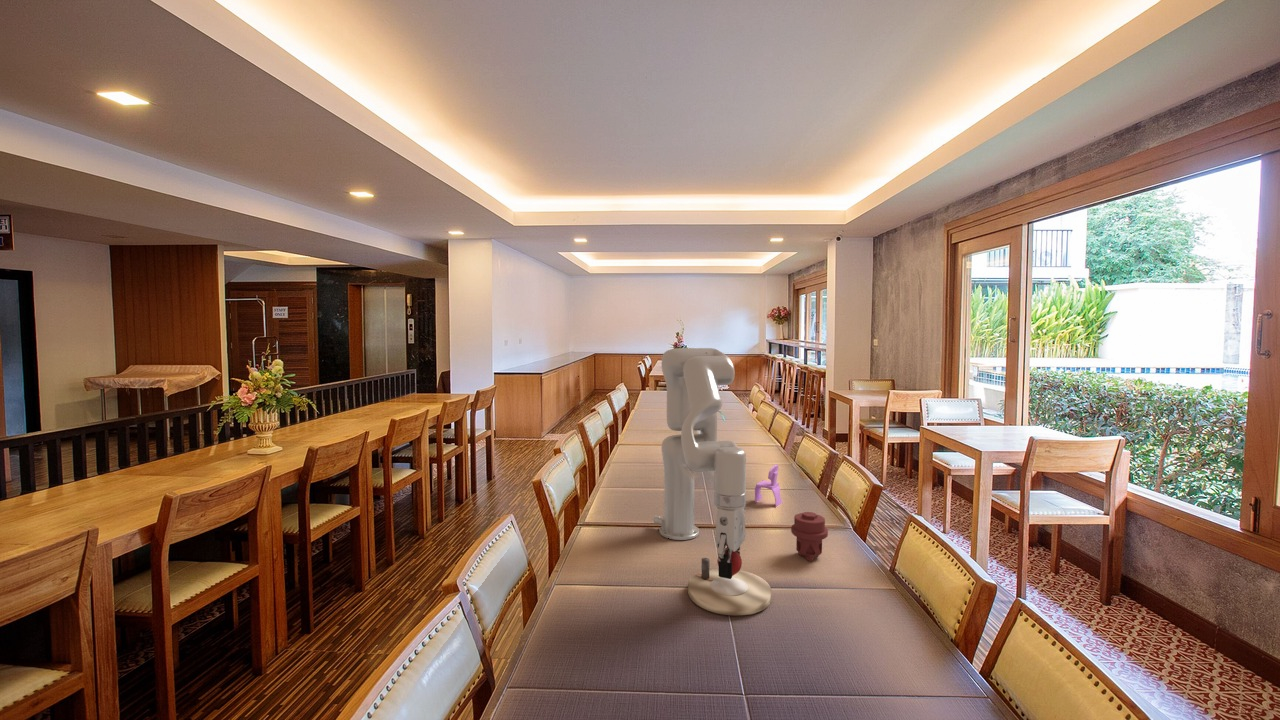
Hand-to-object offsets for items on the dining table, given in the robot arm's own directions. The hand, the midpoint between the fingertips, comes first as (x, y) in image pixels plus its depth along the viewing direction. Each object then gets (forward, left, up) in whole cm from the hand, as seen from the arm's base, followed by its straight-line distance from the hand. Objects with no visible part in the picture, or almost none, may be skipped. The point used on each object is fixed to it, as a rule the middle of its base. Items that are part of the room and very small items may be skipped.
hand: (729, 571), depth 130 cm
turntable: (0, 0, -6) cm, 6 cm away
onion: (0, 0, -2) cm, 2 cm away
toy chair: (-7, +74, -6) cm, 75 cm away
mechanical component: (+14, +32, -6) cm, 35 cm away
